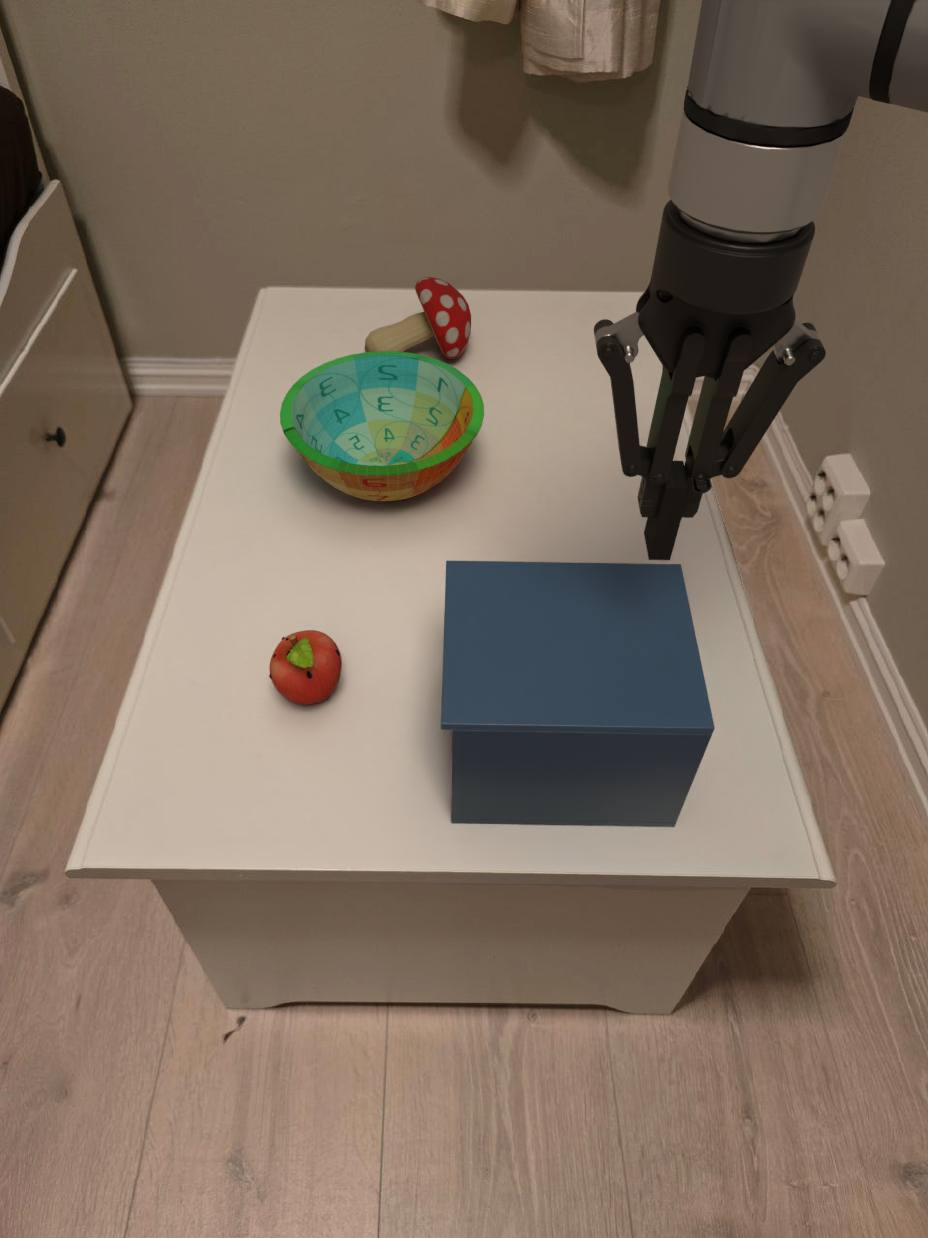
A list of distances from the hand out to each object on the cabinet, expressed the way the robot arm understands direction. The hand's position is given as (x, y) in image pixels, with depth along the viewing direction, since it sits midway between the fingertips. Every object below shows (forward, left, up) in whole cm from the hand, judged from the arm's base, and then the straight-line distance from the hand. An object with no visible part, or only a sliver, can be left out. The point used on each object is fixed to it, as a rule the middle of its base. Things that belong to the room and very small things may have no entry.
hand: (656, 546), depth 62 cm
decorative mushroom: (+43, -50, -26) cm, 71 cm away
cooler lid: (+5, +2, -11) cm, 12 cm away
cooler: (+4, +2, -25) cm, 26 cm away
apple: (+27, +6, -26) cm, 38 cm away
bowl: (+35, -25, -26) cm, 50 cm away
